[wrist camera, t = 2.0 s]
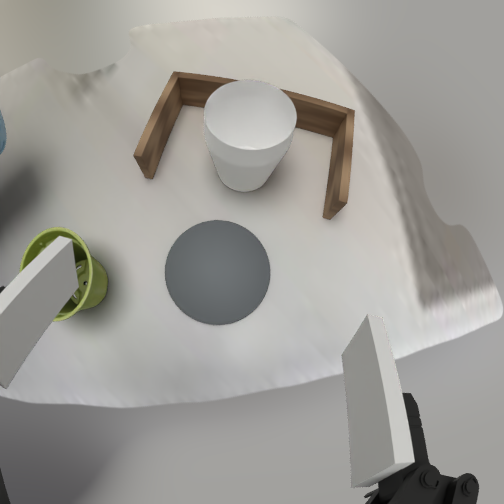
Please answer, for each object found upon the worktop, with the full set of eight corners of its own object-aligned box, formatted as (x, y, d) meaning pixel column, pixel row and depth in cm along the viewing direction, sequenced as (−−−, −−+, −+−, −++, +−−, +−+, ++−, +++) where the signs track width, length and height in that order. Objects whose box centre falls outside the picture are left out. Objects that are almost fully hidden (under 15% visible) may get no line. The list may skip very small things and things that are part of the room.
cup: (292, 167, 38) (316, 113, 27) (247, 215, 37) (256, 170, 25) (240, 128, 39) (246, 66, 27) (193, 171, 37) (181, 114, 25)
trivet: (145, 273, 34) (144, 272, 34) (216, 202, 37) (215, 200, 36) (220, 346, 33) (219, 346, 33) (290, 269, 36) (291, 268, 35)
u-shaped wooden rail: (330, 219, 37) (347, 203, 31) (145, 177, 37) (133, 155, 31) (340, 134, 40) (354, 110, 34) (178, 98, 39) (173, 71, 34)
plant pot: (96, 231, 35) (64, 208, 26) (136, 290, 34) (108, 282, 25) (47, 276, 33) (8, 265, 24) (82, 336, 32) (45, 339, 23)
